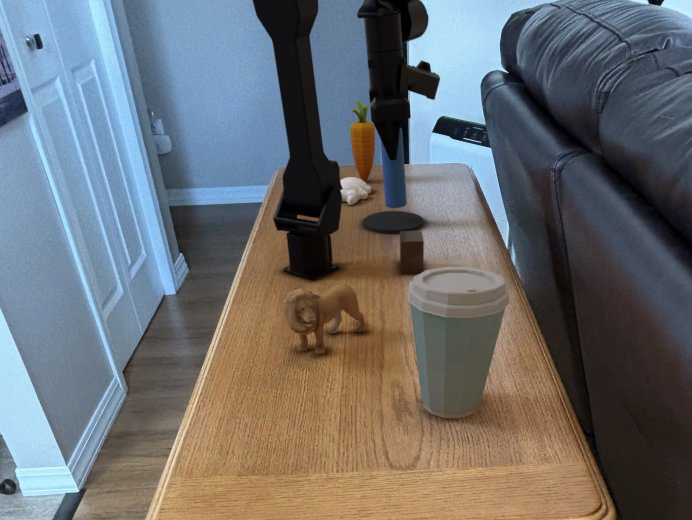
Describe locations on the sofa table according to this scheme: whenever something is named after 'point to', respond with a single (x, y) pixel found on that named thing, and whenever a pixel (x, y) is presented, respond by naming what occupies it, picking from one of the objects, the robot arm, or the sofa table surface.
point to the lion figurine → (320, 313)
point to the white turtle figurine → (354, 190)
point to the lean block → (411, 252)
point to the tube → (394, 177)
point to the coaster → (393, 222)
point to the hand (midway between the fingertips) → (392, 157)
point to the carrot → (363, 142)
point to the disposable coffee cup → (455, 335)
